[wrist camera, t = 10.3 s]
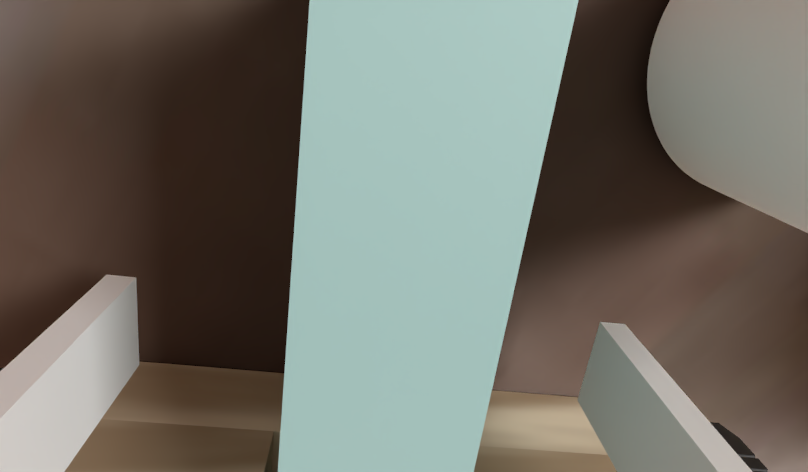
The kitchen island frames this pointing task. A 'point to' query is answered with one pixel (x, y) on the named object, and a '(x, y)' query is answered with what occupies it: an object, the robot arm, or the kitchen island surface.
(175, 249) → the kitchen island surface
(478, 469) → the birch rail
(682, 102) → the beverage can
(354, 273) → the teal board
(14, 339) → the kitchen island surface
